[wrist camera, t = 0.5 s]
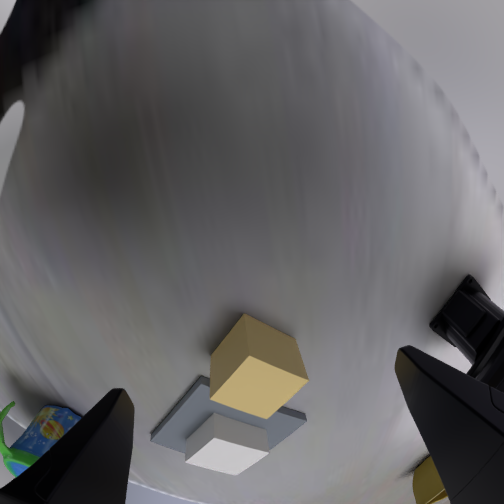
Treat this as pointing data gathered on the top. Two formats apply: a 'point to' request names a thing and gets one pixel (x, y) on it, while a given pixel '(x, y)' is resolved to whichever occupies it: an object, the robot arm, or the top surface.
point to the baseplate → (201, 408)
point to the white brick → (226, 445)
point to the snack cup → (36, 436)
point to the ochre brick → (256, 368)
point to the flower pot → (428, 483)
